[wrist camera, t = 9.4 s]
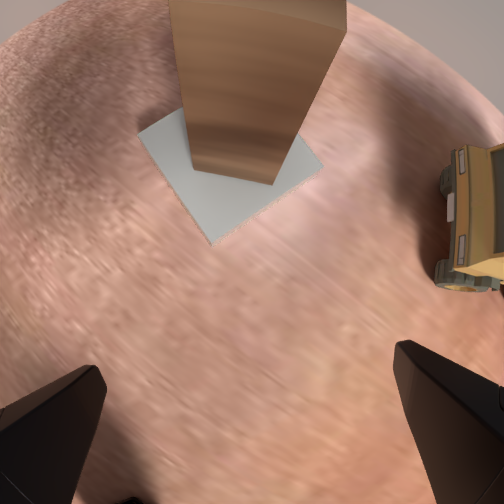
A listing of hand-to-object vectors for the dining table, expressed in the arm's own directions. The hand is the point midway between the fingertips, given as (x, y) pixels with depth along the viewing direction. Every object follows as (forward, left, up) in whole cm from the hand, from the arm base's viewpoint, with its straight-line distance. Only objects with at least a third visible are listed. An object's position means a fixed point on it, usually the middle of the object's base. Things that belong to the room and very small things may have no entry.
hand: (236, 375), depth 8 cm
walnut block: (+7, +9, -10) cm, 15 cm away
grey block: (+7, +9, -13) cm, 18 cm away
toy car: (+23, -10, -13) cm, 28 cm away
